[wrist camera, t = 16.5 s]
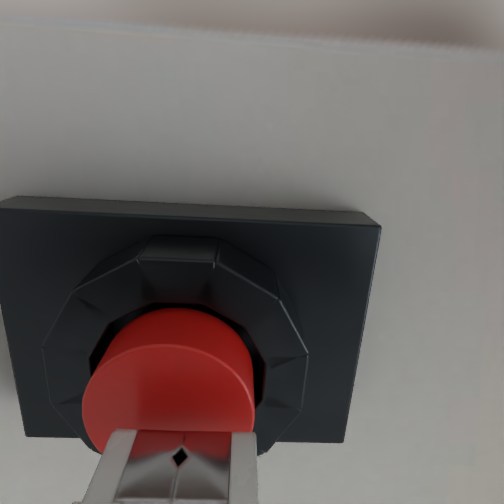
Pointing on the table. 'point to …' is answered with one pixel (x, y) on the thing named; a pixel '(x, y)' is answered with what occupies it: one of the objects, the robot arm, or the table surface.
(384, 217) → the table surface
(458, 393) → the table surface
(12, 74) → the table surface
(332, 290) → the button box
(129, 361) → the button
